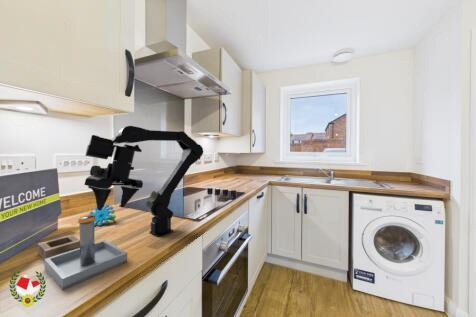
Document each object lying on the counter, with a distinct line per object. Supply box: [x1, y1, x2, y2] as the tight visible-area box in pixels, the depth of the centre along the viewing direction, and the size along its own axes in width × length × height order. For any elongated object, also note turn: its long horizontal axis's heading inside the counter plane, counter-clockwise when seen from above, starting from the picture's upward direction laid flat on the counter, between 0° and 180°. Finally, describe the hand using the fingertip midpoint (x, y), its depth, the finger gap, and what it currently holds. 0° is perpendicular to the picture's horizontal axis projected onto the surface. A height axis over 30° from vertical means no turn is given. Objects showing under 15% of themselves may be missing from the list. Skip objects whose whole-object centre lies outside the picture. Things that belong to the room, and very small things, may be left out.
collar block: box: [37, 234, 80, 262], centre depth 59 cm, size 8×8×3 cm
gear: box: [88, 203, 117, 227], centre depth 85 cm, size 11×6×10 cm
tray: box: [44, 239, 128, 291], centre depth 53 cm, size 14×14×2 cm
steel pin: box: [77, 214, 96, 266], centre depth 53 cm, size 4×4×12 cm
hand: (111, 208), depth 64 cm, fingers open, 9 cm apart
